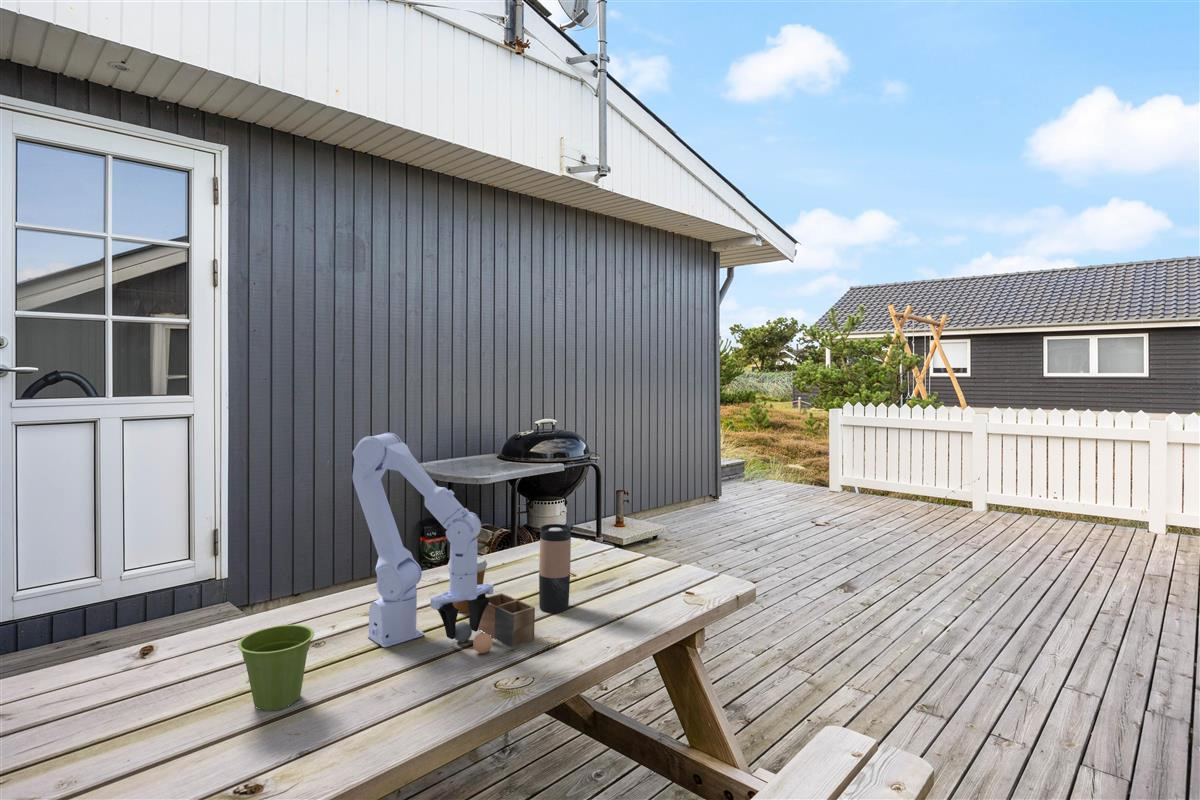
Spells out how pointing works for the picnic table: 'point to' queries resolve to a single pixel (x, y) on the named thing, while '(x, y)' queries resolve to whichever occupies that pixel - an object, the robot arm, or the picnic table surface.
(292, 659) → the plant pot
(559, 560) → the travel mug
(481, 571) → the disposable coffee cup
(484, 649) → the terracotta ball
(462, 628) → the charcoal ball
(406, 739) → the picnic table surface
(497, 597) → the divided wooden sorting box
